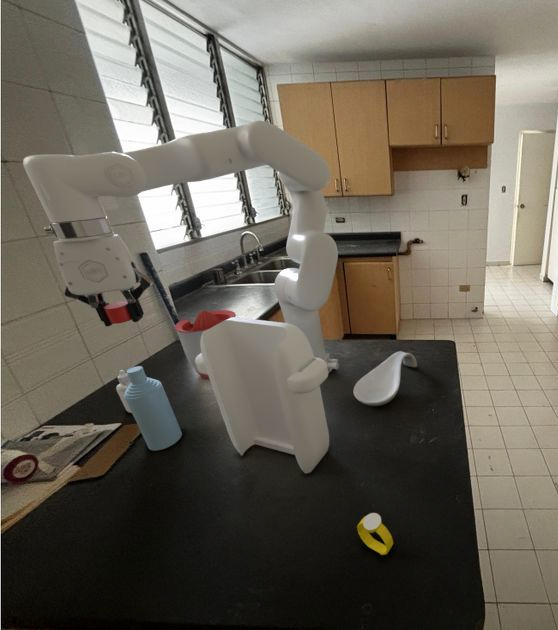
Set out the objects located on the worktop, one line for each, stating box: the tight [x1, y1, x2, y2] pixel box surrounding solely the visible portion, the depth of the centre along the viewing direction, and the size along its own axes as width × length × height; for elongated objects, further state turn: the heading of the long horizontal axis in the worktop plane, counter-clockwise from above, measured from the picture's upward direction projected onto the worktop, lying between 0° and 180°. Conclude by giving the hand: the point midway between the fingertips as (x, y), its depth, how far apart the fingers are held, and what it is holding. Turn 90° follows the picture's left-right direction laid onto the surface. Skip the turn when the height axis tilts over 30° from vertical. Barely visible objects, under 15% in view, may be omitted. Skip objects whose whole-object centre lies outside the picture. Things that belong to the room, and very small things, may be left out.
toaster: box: [195, 316, 330, 475], centre depth 67 cm, size 27×11×30 cm, turn 71°
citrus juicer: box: [174, 309, 237, 380], centre depth 101 cm, size 16×17×20 cm
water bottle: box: [124, 365, 183, 452], centre depth 73 cm, size 6×6×19 cm
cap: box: [104, 300, 132, 325], centre depth 67 cm, size 4×4×3 cm
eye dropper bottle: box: [115, 369, 132, 414], centre depth 85 cm, size 4×6×12 cm
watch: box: [356, 512, 394, 556], centre depth 51 cm, size 6×3×6 cm, turn 59°
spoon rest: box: [353, 350, 418, 407], centre depth 91 cm, size 24×12×7 cm, turn 153°
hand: (124, 320), depth 68 cm, fingers closed on cap, 3 cm apart
